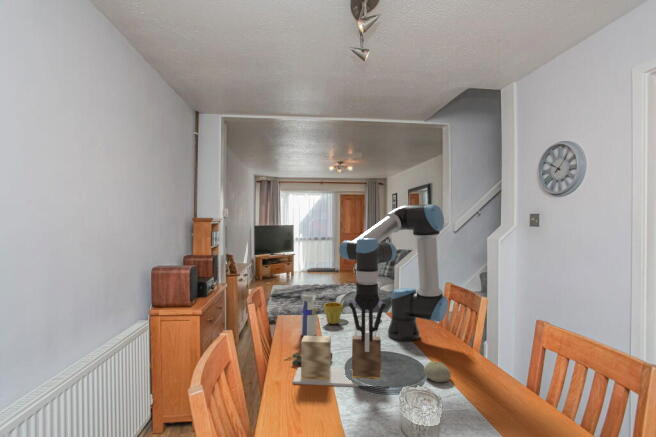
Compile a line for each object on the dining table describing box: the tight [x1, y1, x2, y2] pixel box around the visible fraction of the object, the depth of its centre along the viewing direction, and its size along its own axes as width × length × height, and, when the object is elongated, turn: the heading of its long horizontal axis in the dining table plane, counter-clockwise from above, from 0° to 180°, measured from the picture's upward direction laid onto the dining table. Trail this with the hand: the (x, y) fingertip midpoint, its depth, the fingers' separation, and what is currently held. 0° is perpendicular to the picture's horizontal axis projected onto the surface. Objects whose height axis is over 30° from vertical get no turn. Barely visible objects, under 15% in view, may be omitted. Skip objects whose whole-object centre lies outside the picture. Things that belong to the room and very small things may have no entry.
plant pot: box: [323, 301, 344, 325], centre depth 185 cm, size 10×10×10 cm
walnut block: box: [351, 335, 382, 379], centre depth 120 cm, size 10×6×13 cm, turn 85°
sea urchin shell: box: [423, 360, 452, 383], centre depth 119 cm, size 9×8×8 cm
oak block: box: [300, 335, 332, 379], centre depth 120 cm, size 10×6×13 cm, turn 85°
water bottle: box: [300, 284, 318, 337], centre depth 166 cm, size 8×8×25 cm
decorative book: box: [284, 349, 333, 366], centre depth 133 cm, size 13×18×5 cm
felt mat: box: [292, 366, 359, 387], centre depth 119 cm, size 33×11×1 cm, turn 85°
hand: (366, 350), depth 116 cm, fingers closed
